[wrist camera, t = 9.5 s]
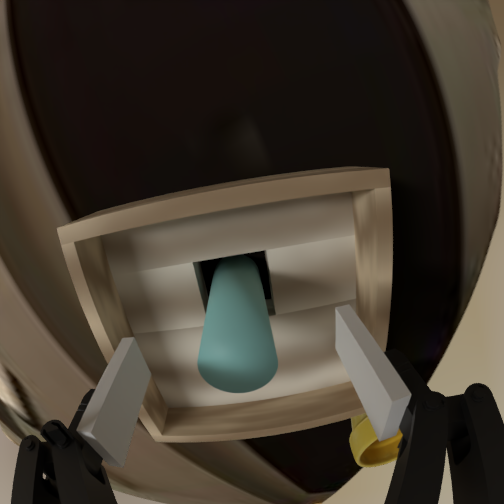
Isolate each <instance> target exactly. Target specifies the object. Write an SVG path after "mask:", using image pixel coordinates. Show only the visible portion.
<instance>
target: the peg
mask: <svg viewBox="0 0 504 504" xmlns="http://www.w3.org/2000/svg"><path fill="white" fill-rule="evenodd" d="M197 365H198V370H199V373H200V375H201V376H202V378H203V379H204V380H205V381H206V382H207V383H208V384H210V385H211V386H213V387H214V388H216V389H219V390H221V391H225V392H229V393H246V392H251V391H255V390H257V389H259V388H261V387H263V386H265V385H266V384H267V383H269V382H270V381H271V380H272V379H273V377H274V376H275V374H276V372H277V369H278V358H277V353H276V348H275V343H274V339H273V334H272V329H271V325H270V320H269V315H268V310H267V306H266V301H265V296H264V292H263V287H262V282H261V277H260V273H259V269H258V266H257V265H256V263H255V262H254V261H253V260H252V259H251V258H249V257H248V256H245V255H242V254H239V255H233V256H227V257H224V258H223V259H221V260H220V261H219V262H218V264H217V265H216V267H215V270H214V275H213V280H212V285H211V290H210V295H209V300H208V305H207V311H206V316H205V321H204V327H203V332H202V338H201V343H200V349H199V354H198V361H197Z"/></svg>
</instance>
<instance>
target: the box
mask: <svg viewBox="0 0 504 504" xmlns="http://www.w3.org/2000/svg"><path fill="white" fill-rule="evenodd" d="M57 231H58V235H59V239H60V242H61V246H62V250H63V253H64V256H65V260H66V263H67V266H68V269H69V272H70V275H71V278H72V281H73V284H74V287H75V290H76V292H77V295H78V298H79V300H80V303H81V305H82V308H83V310H84V313H85V315H86V318H87V320H88V322H89V325H90V327H91V329H92V332H93V334H94V336H95V338H96V340H97V343H98V345H99V347H100V349H101V351H102V353H103V355H104V357H105V359H106V361H107V363H108V364H109V362H110V360H111V358H112V356H113V355H114V353H115V351H116V349H117V347H118V345H119V343H120V342H121V340H122V338H129V337H135V340H136V342H137V344H138V346H139V349H140V351H141V353H142V355H143V358H144V360H145V362H146V364H147V366H148V368H149V370H150V372H151V377H150V380H149V383H148V386H147V389H146V392H145V396H144V399H143V402H142V405H141V408H140V412H139V415H138V416H139V418H140V420H141V421H142V423H143V424H144V426H145V427H146V428H147V430H148V431H149V433H150V434H151V436H152V437H153V438H154V440H155V441H156V442H210V441H226V440H237V439H247V438H255V437H263V436H270V435H276V434H282V433H288V432H293V431H299V430H304V429H308V428H313V427H317V426H321V425H326V424H330V423H333V422H337V421H341V420H345V419H348V418H351V417H355V416H358V415H361V414H365V413H366V411H365V409H364V407H363V405H362V403H361V401H360V399H359V396H358V394H357V392H356V390H355V388H354V386H353V384H352V382H351V380H350V378H349V375H348V373H347V371H346V369H345V367H344V365H343V363H342V361H341V359H340V357H339V355H338V353H337V351H336V349H335V342H336V314H335V307H339V306H344V305H348V304H349V305H350V306H351V307H352V309H353V310H354V311H355V313H356V314H357V316H358V317H359V318H360V320H361V321H362V323H363V324H364V325H365V327H366V328H367V330H368V331H369V332H370V334H371V335H372V337H373V338H374V340H375V341H376V342H377V344H378V345H379V347H380V348H381V350H382V351H383V352H385V351H386V344H387V336H388V327H389V317H390V305H391V290H392V267H393V223H392V200H391V185H390V174H389V168H373V167H338V168H328V169H318V170H309V171H301V172H293V173H285V174H278V175H271V176H264V177H258V178H251V179H245V180H239V181H233V182H227V183H222V184H216V185H211V186H205V187H200V188H195V189H190V190H185V191H180V192H176V193H171V194H166V195H162V196H157V197H153V198H149V199H145V200H140V201H136V202H132V203H128V204H124V205H120V206H116V207H113V208H109V209H105V210H101V211H98V212H96V213H93V214H91V215H88V216H85V217H83V218H80V219H78V220H75V221H73V222H71V223H68V224H66V225H63V226H61V227H59V228H57ZM263 250H265V257H266V264H267V270H268V277H269V284H270V291H271V298H272V299H266V300H265V301H266V306H267V310H268V315H269V320H270V325H271V329H272V334H273V339H274V343H275V348H276V353H277V358H278V369H277V372H276V374H275V376H274V377H273V379H272V380H271V381H270V382H269V383H267V384H266V385H265V386H263V387H261V388H259V389H257V390H255V391H251V392H246V393H229V392H225V391H221V390H219V389H216V388H214V387H213V386H211V385H210V384H208V383H207V382H206V381H205V380H204V379H203V378H202V376H201V375H200V373H199V370H198V365H197V361H198V354H199V349H200V343H201V338H202V332H203V327H204V321H205V316H206V311H207V305H208V300H209V297H208V293H207V289H206V285H205V280H204V276H203V272H202V268H201V263H200V261H203V260H209V259H215V258H221V257H227V256H233V255H239V254H245V253H251V252H257V251H263Z"/></svg>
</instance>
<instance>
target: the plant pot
mask: <svg viewBox="0 0 504 504" xmlns="http://www.w3.org/2000/svg"><path fill="white" fill-rule="evenodd" d="M351 422H352V433H351V435H350V446H351V449H352V452H353V455H354V458H355V461H356V463H357V464H358V465H360V466H362V467H376V466H380V465H384V464H387V463H390V462H392V461H394V460H397V456H398V452H399V448H397V447H398V444H399V442H400V440H401V438H402V436H403V435H402V433H401V431H400V429H398V432H397V434H396V436H393V437H391V438H388V439H385V440H383V441H380V442H379V440H378V438H377V436H376V433H375V431H374V429H373V427H372V425H371V422H370V420H369V418H368V416H367V414H366V413H365V414H361V415H358V416H355V417H351Z"/></svg>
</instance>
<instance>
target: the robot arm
mask: <svg viewBox="0 0 504 504" xmlns="http://www.w3.org/2000/svg"><path fill="white" fill-rule="evenodd" d="M335 314H336V342H335V349H336V351H337V353H338V355H339V357H340V359H341V361H342V363H343V365H344V367H345V369H346V371H347V373H348V375H349V378H350V380H351V382H352V384H353V386H354V388H355V390H356V392H357V394H358V396H359V399H360V401H361V403H362V405H363V407H364V409H365V411H366V414H367V416H368V418H369V420H370V422H371V425H372V427H373V429H374V431H375V433H376V436H377V438H378V440H379V442H380V441H383V440H385V439H388V438H391V437H393V436H396V434H397V432H398V429H400V431H401V433H402V435H403V436H402V438H401V440H400V442H399V444H398V447H397V448H399V452H398V456H397V461H396V465H395V469H394V473H393V476H392V480H391V483H390V487H389V490H388V494H387V497H386V500H385V503H384V504H438V501H439V496H440V490H441V484H442V479H443V472H444V465H445V456H446V447H447V453H448V459H449V465H450V473H451V480H452V491H453V503H454V504H504V423H503V420H502V418H501V415H500V412H499V409H498V407H497V404H496V402H495V399H494V397H493V394H492V392H491V390H490V389H489V387H487V386H486V385H484V384H481V383H474V384H472V385H470V386H469V387H468V388H467V389H466V391H465V393H464V394H460V395H455V396H449V397H445V396H444V395H443V394H441V393H439V392H434V391H431V390H430V389H429V387H428V386H427V384H426V383H425V382H424V380H423V379H422V378H421V376H420V375H419V373H418V372H417V371H416V369H414V367H413V365H412V364H411V363H410V362H409V360H408V359H407V357H406V356H405V355H404V354H403V353H402V352H400V351H398V350H397V349H395V348H394V349H391V350H388V351H385V352H383V351H382V350H381V348H380V347H379V345H378V344H377V342H376V341H375V340H374V338H373V337H372V335H371V334H370V332H369V331H368V330H367V328H366V327H365V325H364V324H363V323H362V321H361V320H360V318H359V317H358V316H357V314H356V313H355V311H354V310H353V309H352V307H351V306H350V305H349V304H348V305H344V306H339V307H335ZM150 377H151V372H150V370H149V368H148V366H147V364H146V362H145V360H144V358H143V355H142V353H141V351H140V349H139V346H138V344H137V342H136V340H135V337H129V338H122V340H121V342H120V343H119V345H118V347H117V349H116V351H115V353H114V355H113V356H112V358H111V360H110V362H109V364H108V366H107V368H106V370H105V372H104V374H103V376H102V377H101V379H100V381H99V383H98V385H97V387H96V389H91V390H90V391H89V392H88V393H87V394H86V395H85V396H84V398H83V399H82V401H81V405H79V407H78V411H76V414H75V416H74V418H73V420H72V422H71V424H70V426H69V428H68V429H67V428H66V427H65V426H64V424H63V423H62V422H61V421H59V420H51V421H49V422H47V423H46V424H45V425H44V426H43V427H42V429H41V433H40V434H41V435H42V436H43V438H44V439H45V440H46V441H47V442H41V441H40V440H39V439H38V438H37V437H36V436H34V435H29V436H27V437H25V438H24V439H23V440H22V442H21V444H20V448H19V453H18V457H17V463H16V468H15V475H14V481H13V489H12V498H11V504H117V501H116V499H115V496H114V493H113V491H112V488H111V485H110V483H109V480H108V477H107V474H106V471H105V469H104V467H103V466H102V465H101V463H102V460H103V459H104V460H105V461H106V462H107V463H108V464H109V465H111V466H117V467H123V468H124V464H125V460H126V457H127V453H128V449H129V446H130V442H131V439H132V435H133V432H134V428H135V425H136V422H137V418H138V415H139V412H140V408H141V405H142V402H143V399H144V396H145V392H146V389H147V386H148V383H149V380H150ZM43 473H44V474H45V475H46V479H43V478H42V477H43Z"/></svg>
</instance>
